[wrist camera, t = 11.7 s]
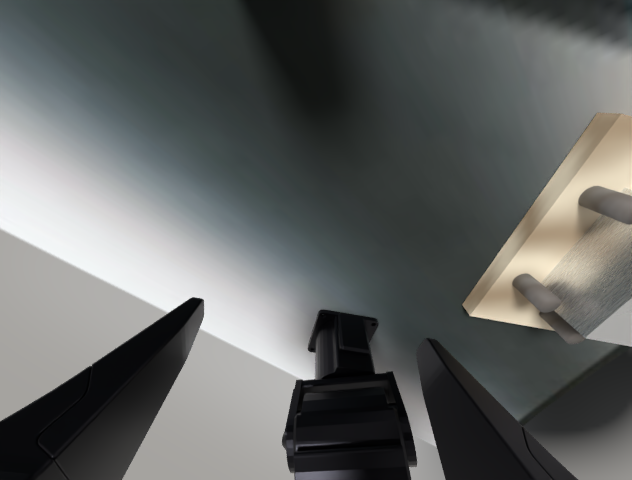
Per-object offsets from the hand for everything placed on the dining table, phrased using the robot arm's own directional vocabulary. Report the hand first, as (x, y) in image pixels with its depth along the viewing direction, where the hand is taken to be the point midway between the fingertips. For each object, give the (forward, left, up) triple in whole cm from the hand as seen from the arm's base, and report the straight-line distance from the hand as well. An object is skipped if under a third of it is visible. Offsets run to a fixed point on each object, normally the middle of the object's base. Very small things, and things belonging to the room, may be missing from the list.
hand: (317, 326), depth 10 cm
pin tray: (+2, -24, -12) cm, 27 cm away
